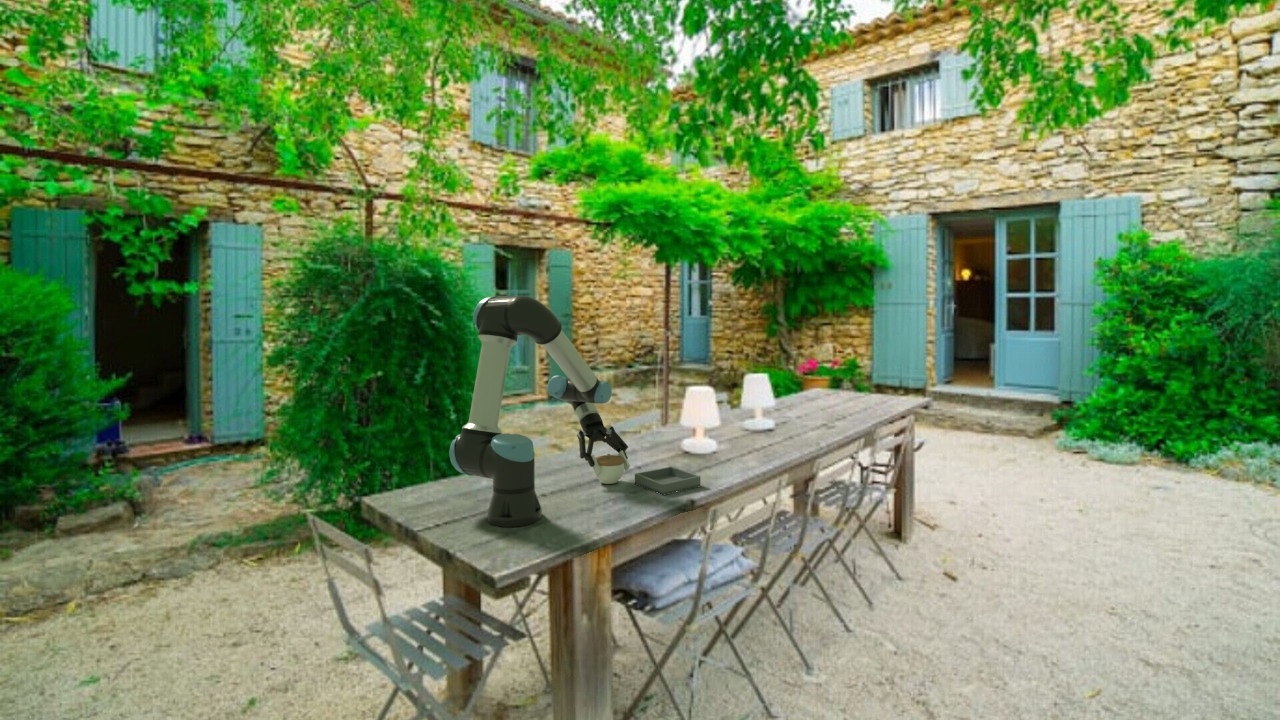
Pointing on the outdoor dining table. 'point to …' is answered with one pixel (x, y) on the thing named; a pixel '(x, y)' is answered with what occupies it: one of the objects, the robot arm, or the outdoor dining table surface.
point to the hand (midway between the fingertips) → (613, 471)
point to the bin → (667, 480)
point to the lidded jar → (610, 468)
